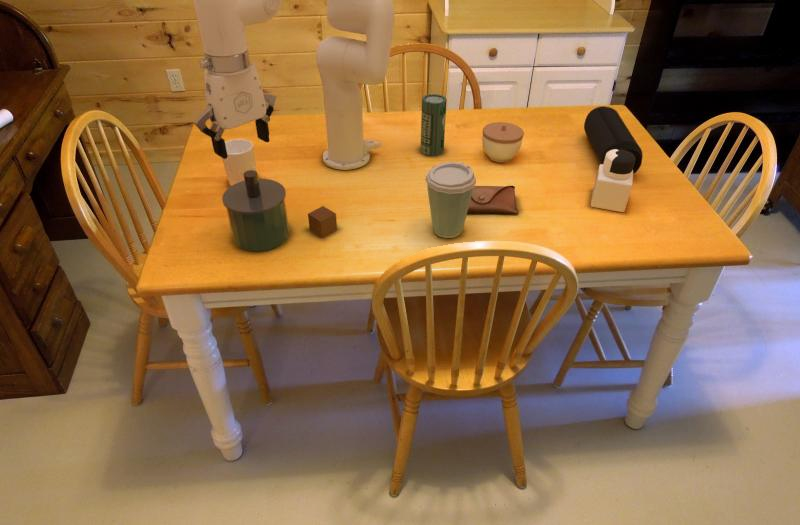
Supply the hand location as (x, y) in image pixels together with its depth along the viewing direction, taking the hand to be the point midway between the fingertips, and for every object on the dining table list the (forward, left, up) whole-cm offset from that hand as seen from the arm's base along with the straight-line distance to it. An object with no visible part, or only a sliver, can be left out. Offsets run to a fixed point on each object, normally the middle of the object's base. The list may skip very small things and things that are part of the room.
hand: (243, 147), depth 110 cm
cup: (0, 0, -21) cm, 21 cm away
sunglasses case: (-50, +11, -22) cm, 56 cm away
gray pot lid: (0, 0, -11) cm, 11 cm away
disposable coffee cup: (-38, +16, -22) cm, 47 cm away
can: (-53, -18, -22) cm, 60 cm away
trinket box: (-68, -7, -22) cm, 72 cm away
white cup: (-2, -24, -22) cm, 32 cm away
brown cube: (-13, +4, -21) cm, 26 cm away
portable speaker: (-95, +6, -22) cm, 97 cm away
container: (-79, +23, -22) cm, 85 cm away
